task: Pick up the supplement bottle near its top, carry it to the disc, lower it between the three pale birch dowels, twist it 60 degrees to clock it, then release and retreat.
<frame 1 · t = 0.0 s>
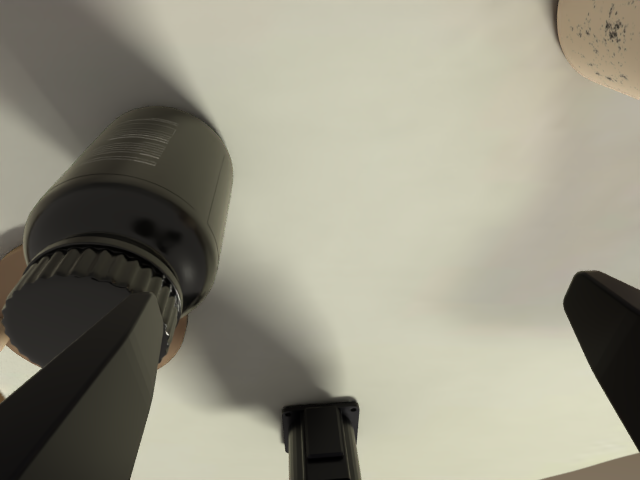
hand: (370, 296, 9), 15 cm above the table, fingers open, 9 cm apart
dowel base: (94, 310, 28), on the table
supplement bottle: (172, 165, 23), on the table
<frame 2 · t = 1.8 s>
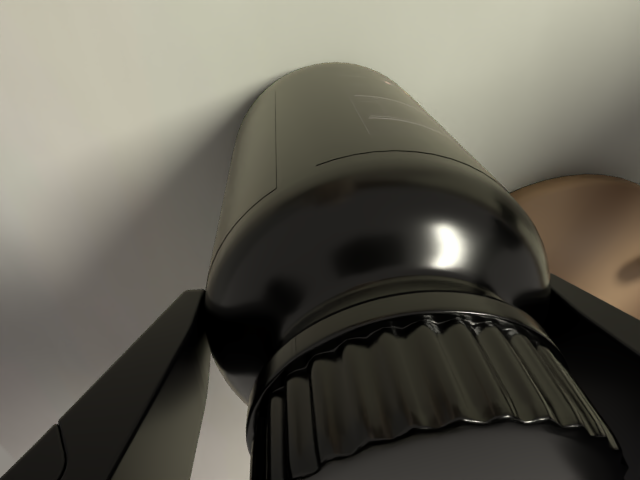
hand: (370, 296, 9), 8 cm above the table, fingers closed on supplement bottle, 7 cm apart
dowel base: (539, 290, 20), on the table
supplement bottle: (331, 154, 15), on the table, touching gripper
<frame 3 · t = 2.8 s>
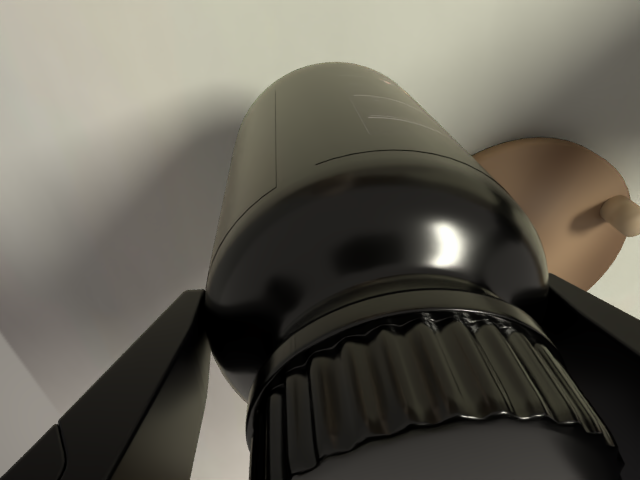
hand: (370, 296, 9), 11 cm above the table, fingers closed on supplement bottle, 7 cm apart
dowel base: (505, 242, 23), on the table
supplement bottle: (331, 154, 15), point 4 cm above the table, touching gripper
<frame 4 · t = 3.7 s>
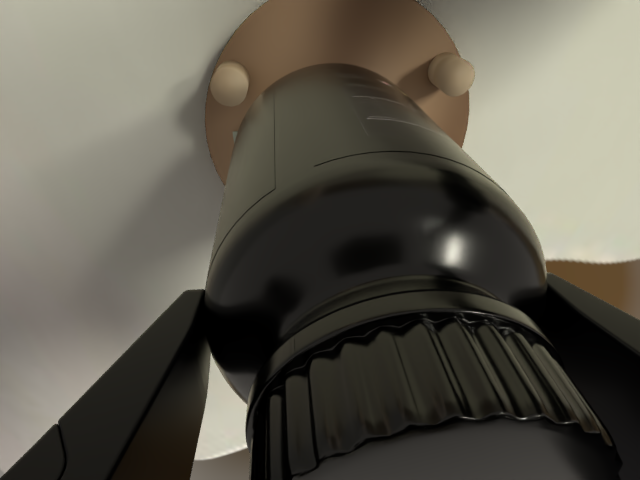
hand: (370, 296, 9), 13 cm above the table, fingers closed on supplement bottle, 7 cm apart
dowel base: (336, 126, 20), on the table
supplement bottle: (330, 154, 15), point 5 cm above the table, touching gripper
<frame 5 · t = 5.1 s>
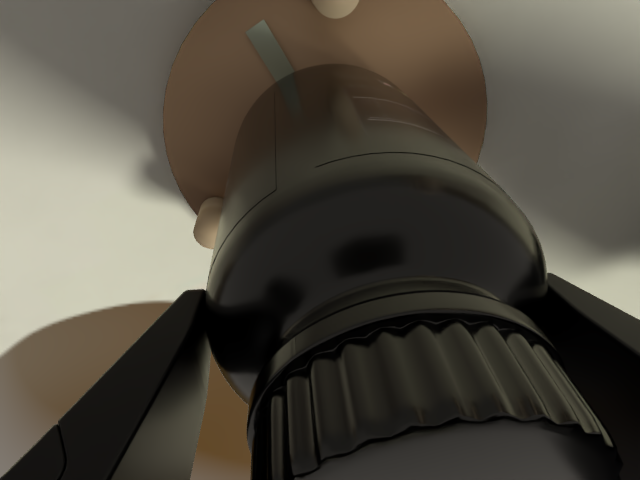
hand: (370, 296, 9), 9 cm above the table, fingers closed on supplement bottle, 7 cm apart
dowel base: (326, 137, 17), on the table
supplement bottle: (330, 155, 15), point 2 cm above the table, touching gripper
when the fingers open (9 cm above the table, at t = 5.9 s): supplement bottle stays where it is, resting on dowel base.
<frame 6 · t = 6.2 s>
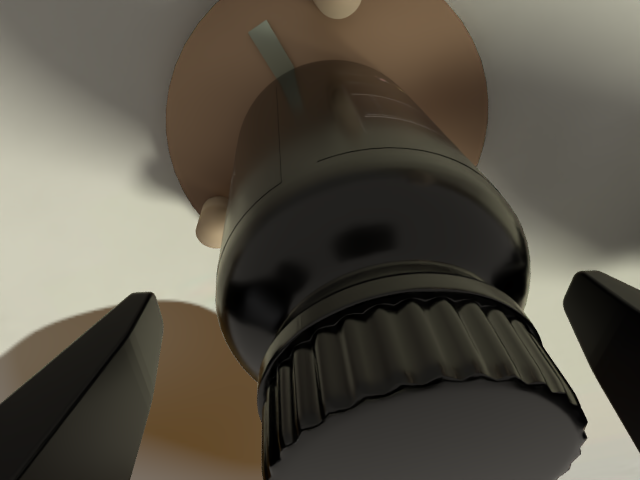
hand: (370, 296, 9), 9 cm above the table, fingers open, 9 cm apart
dowel base: (328, 137, 17), on the table
supplement bottle: (330, 147, 16), point 1 cm above the table, touching dowel base
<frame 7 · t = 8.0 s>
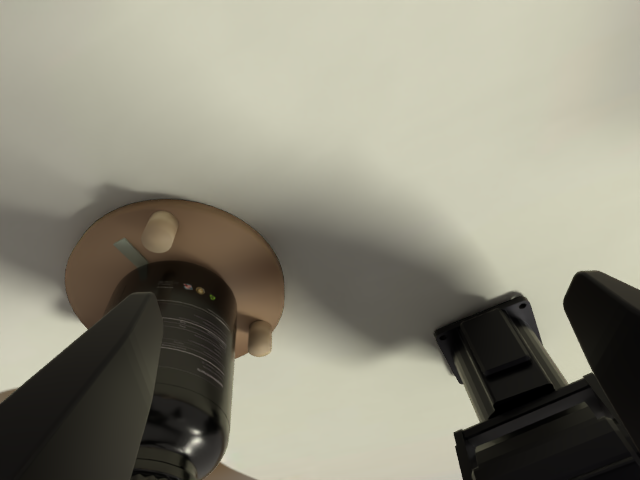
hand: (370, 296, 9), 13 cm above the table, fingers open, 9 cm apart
dowel base: (182, 287, 25), on the table
supplement bottle: (179, 299, 24), point 1 cm above the table, touching dowel base
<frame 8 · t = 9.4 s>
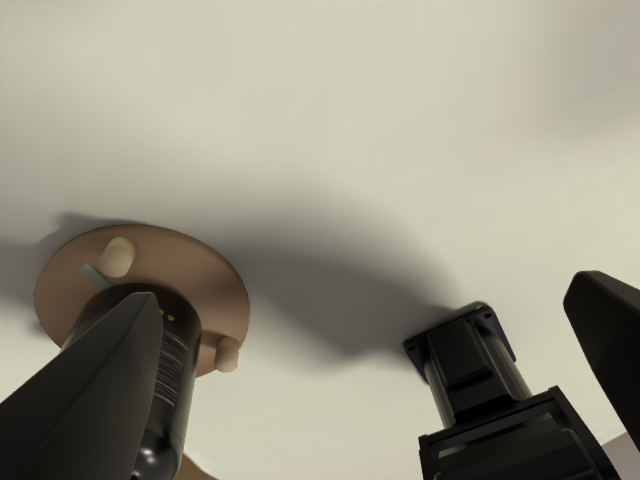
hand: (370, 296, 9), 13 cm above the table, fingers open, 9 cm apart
dowel base: (150, 307, 26), on the table
supplement bottle: (147, 318, 25), point 1 cm above the table, touching dowel base
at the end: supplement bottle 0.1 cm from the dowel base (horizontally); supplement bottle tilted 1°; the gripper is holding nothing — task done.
